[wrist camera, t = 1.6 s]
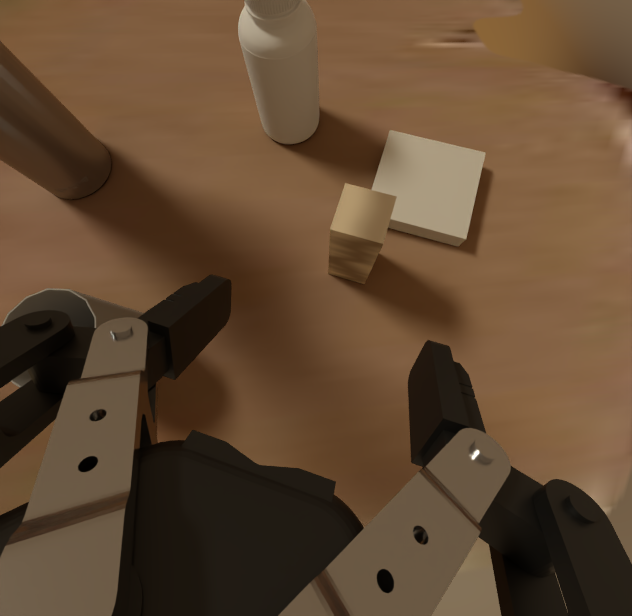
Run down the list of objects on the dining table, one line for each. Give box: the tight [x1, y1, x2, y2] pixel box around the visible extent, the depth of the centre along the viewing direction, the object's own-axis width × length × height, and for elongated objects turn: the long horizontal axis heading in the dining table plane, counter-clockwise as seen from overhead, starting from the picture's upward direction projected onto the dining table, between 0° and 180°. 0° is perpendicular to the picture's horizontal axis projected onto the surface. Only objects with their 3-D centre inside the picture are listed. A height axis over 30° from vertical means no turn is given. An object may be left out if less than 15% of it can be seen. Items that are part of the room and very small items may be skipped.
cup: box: [2, 288, 144, 387], centre depth 28 cm, size 8×8×10 cm
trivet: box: [372, 130, 485, 247], centre depth 35 cm, size 12×12×2 cm
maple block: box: [328, 183, 397, 284], centre depth 29 cm, size 4×4×11 cm
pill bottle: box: [238, 0, 320, 144], centre depth 32 cm, size 8×8×15 cm
